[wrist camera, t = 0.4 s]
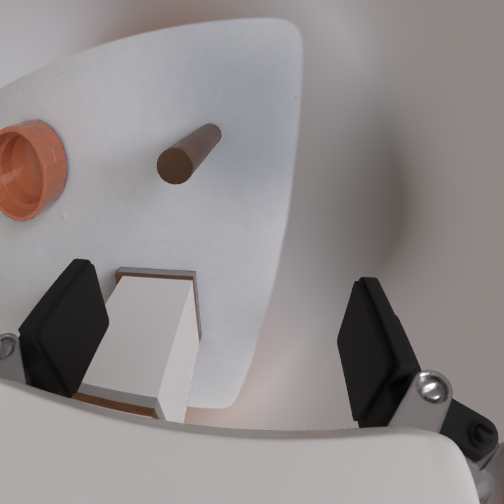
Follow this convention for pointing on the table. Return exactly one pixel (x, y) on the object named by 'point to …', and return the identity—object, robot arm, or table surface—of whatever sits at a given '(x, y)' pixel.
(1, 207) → the bowl
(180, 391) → the striped white pedestal
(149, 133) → the table surface
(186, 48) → the table surface
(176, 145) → the stick
